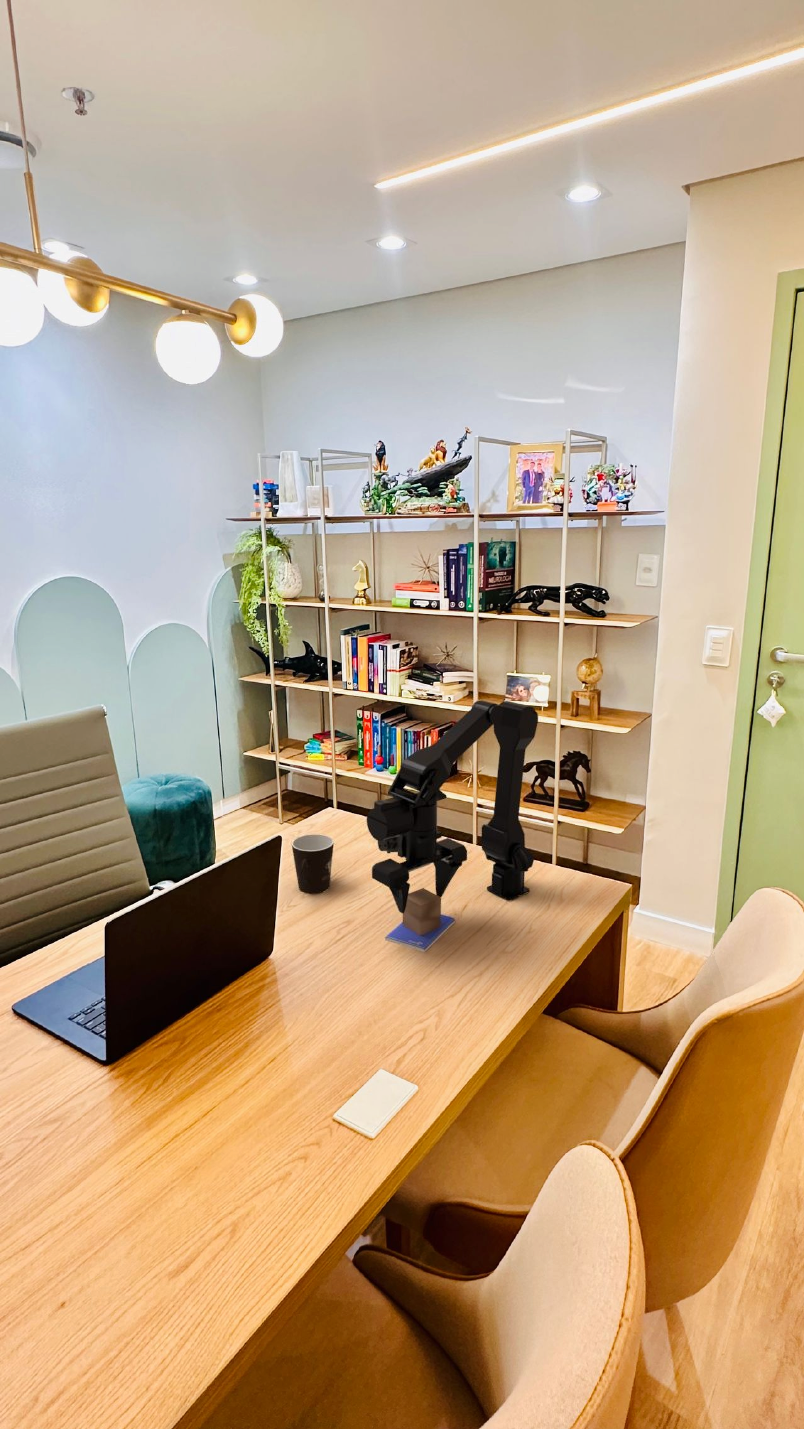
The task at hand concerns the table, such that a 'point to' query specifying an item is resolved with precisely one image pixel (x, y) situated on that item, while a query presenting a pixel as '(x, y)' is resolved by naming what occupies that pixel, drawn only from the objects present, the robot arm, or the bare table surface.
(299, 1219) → the table surface
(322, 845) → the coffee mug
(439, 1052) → the table surface
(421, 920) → the walnut block
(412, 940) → the hard drive
